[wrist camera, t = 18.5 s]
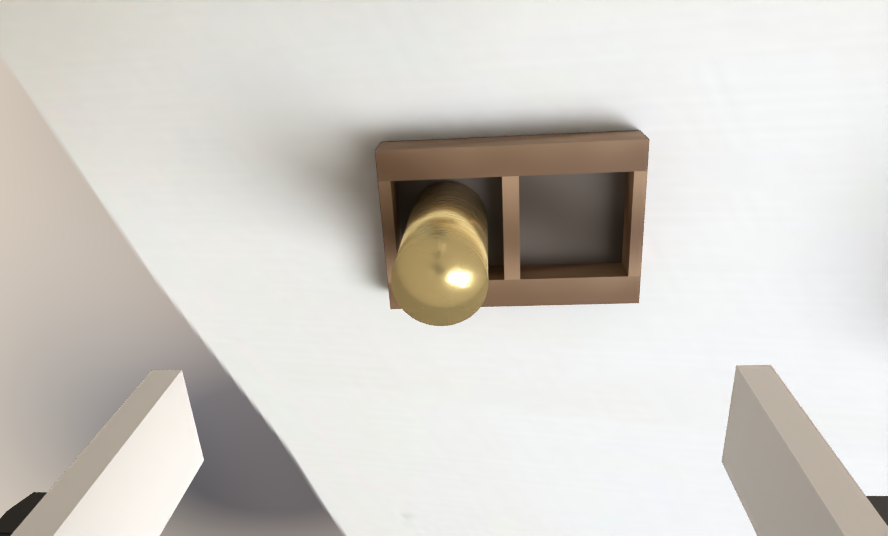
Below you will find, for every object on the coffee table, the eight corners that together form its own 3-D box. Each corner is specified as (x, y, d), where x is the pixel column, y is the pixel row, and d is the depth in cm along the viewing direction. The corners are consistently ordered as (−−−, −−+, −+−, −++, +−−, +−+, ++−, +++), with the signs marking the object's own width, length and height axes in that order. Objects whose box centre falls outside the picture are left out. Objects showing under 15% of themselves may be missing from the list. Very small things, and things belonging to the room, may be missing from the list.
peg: (407, 183, 34) (386, 239, 26) (486, 180, 33) (486, 235, 26) (413, 255, 35) (395, 327, 28) (488, 253, 35) (489, 324, 28)
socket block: (381, 141, 33) (374, 150, 31) (640, 130, 32) (649, 139, 30) (395, 292, 37) (390, 309, 35) (631, 286, 36) (638, 302, 34)
